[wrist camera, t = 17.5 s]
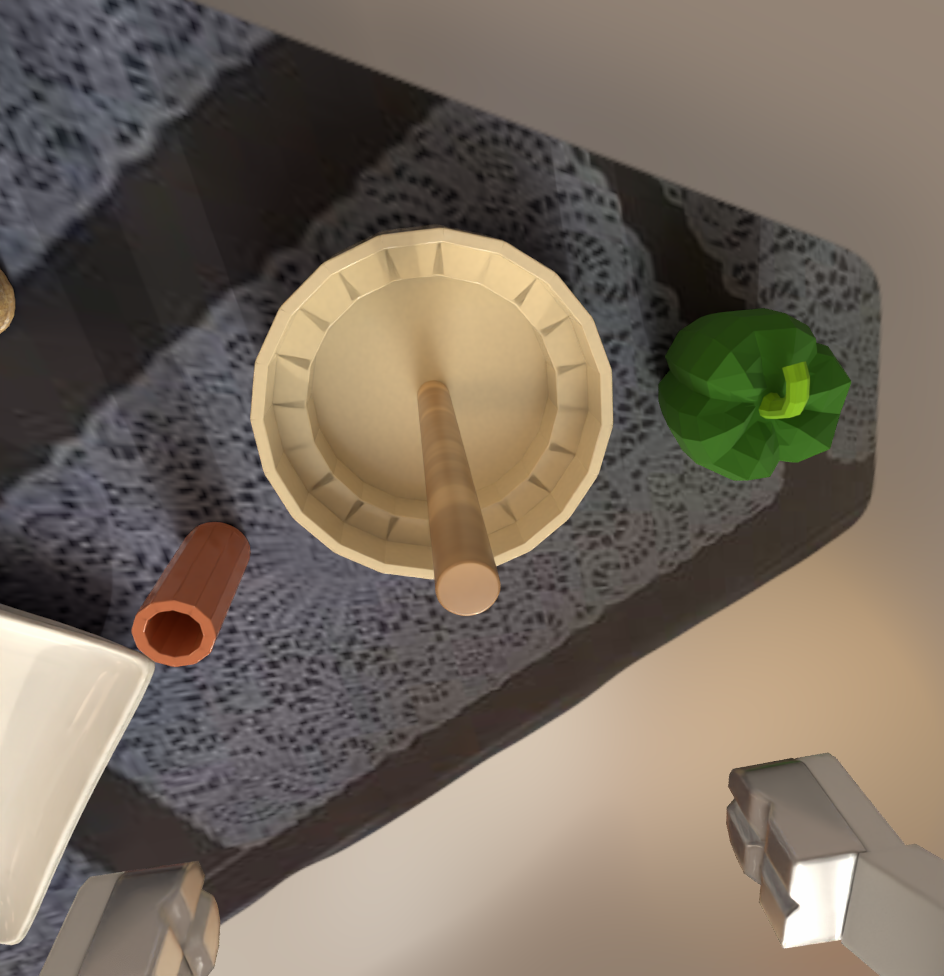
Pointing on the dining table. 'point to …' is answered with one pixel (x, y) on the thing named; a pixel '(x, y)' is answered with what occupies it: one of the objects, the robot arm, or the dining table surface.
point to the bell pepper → (751, 392)
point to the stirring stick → (454, 510)
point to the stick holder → (192, 596)
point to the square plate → (53, 745)
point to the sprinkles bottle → (6, 302)
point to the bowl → (409, 364)
